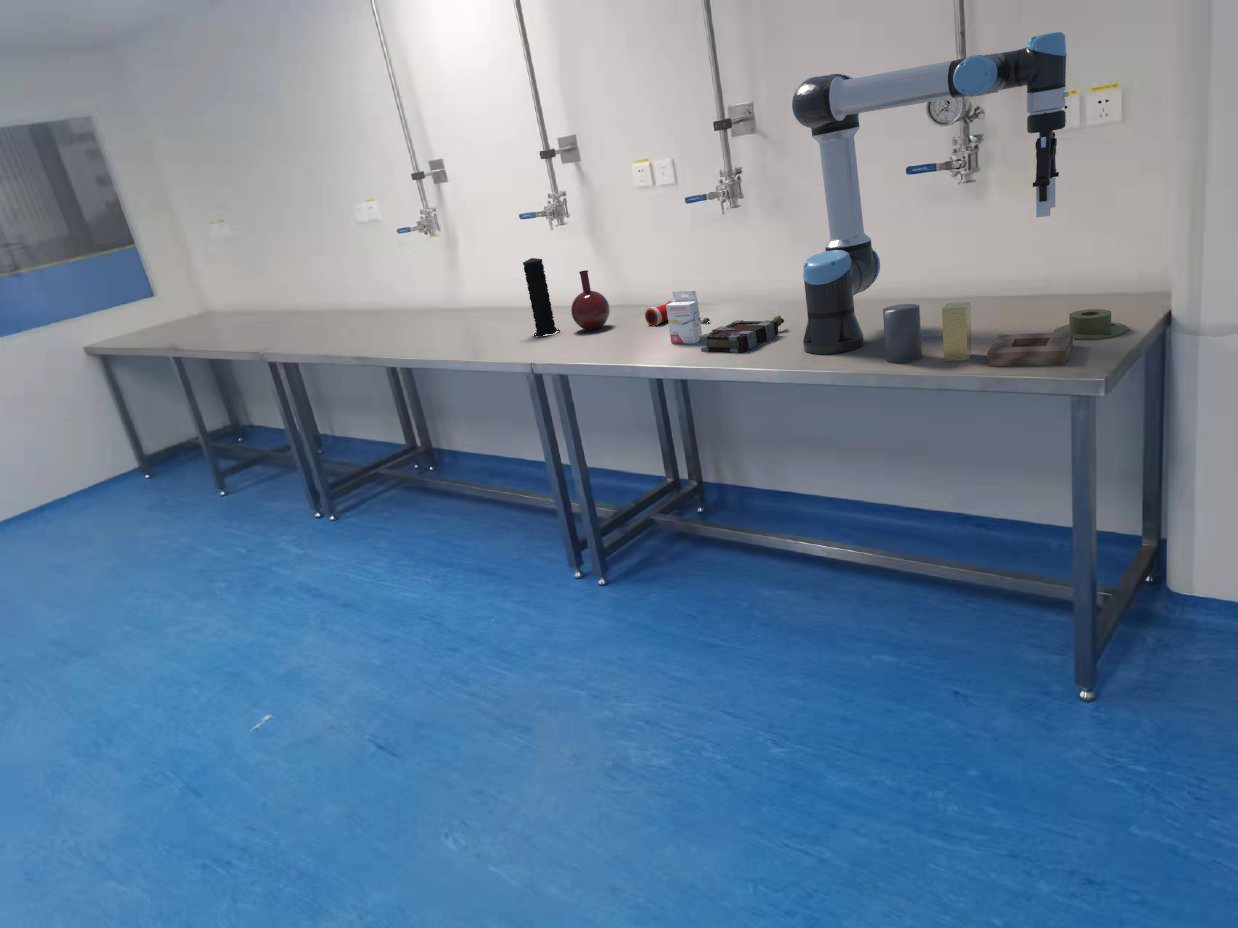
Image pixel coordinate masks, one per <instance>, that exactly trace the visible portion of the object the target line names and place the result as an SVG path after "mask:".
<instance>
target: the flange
mask: <svg viewBox="0 0 1238 928" xmlns="http://www.w3.org/2000/svg"><path fill="white" fill-rule="evenodd" d="M1068 317H1069V320H1068V321H1069V322H1068V323H1069V324H1065V325H1062V326H1059V327H1056V328H1055V329H1054V330H1053V332H1052V333H1061V332H1073V339H1074V340H1073V341H1077V340H1088V341H1097V340H1098V341H1100V340H1107V339H1112V338H1113V339H1114V338H1117V337H1120V336H1123V335H1125V334H1127V333H1128V329H1129V328H1128V326H1127V325H1126V324H1123V323H1121V322H1115V321H1112V311H1111V310H1109V309H1101V308H1094V309H1093V308H1092V309H1091V308H1090V309H1081V310H1076V311H1073V312H1071V313H1069V315H1068ZM1099 339H1100V340H1099Z"/></svg>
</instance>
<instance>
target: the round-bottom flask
mask: <svg viewBox="0 0 1238 928" xmlns="http://www.w3.org/2000/svg"><path fill="white" fill-rule="evenodd" d="M578 274H579V275H580V280H581V287H582V292H581V293H579V294H578V295H577V296H576V297H575V298H574V300H573V301H572V303H571V309H570V311H571V316H572V317H571V318H572V320H573V321H574V323H575V324H576V325H577V326H578V327H580V328H581V329H583V330H587V331H595V330H598V329H600V328H602V327H603V326H605V324H606V323H607V321H608V320H609V318H610V313H611V309H610V303H609V301H608V300H607V298H606V296H604V294H602V293H601V292H598V291H594V290H592V289H591V283H590V279H589V270H586V269H584V270H580V271H579V272H578ZM594 329H595V330H594Z"/></svg>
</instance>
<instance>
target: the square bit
mask: <svg viewBox="0 0 1238 928" xmlns="http://www.w3.org/2000/svg"><path fill="white" fill-rule="evenodd" d="M971 312H972V311H971V301H965V302H964V301H963V302H961V301H960V302H946V303H945V304H944V305H943V307H941V317H942V320H941V321H942V322H941V323H942V342H943V343H942V344H943V345H942V346H943V361H944V362H945V361H946V362H949V361H951V362H952V361H953V362H955V361H969V359H970V358H971V356H972V355H973V349H972V324H971V323H972V320H971V319H972V317H971Z"/></svg>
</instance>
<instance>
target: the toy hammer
mask: <svg viewBox="0 0 1238 928" xmlns="http://www.w3.org/2000/svg"><path fill="white" fill-rule="evenodd" d="M672 302H674V299H671V300H669V301H667V302H666V303H665V304H662V305H659V306H656V307H655V306H652V307H648V308H647V309H646V310H645V312H644V318H645V321H646V323H647V324H648V325H649V326H650V325H658V324H660V323H661V322H662V323H664V321H665V322H668V321H667V320H668V316H667V309H666V305H667V304H670V303H672ZM708 321H710V322H711V319H710V318H709V317H704V318H702V317H700V322H701V323H703V324H704V323H707V322H708ZM662 323H661V324H662ZM658 326H659V325H658Z"/></svg>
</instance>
